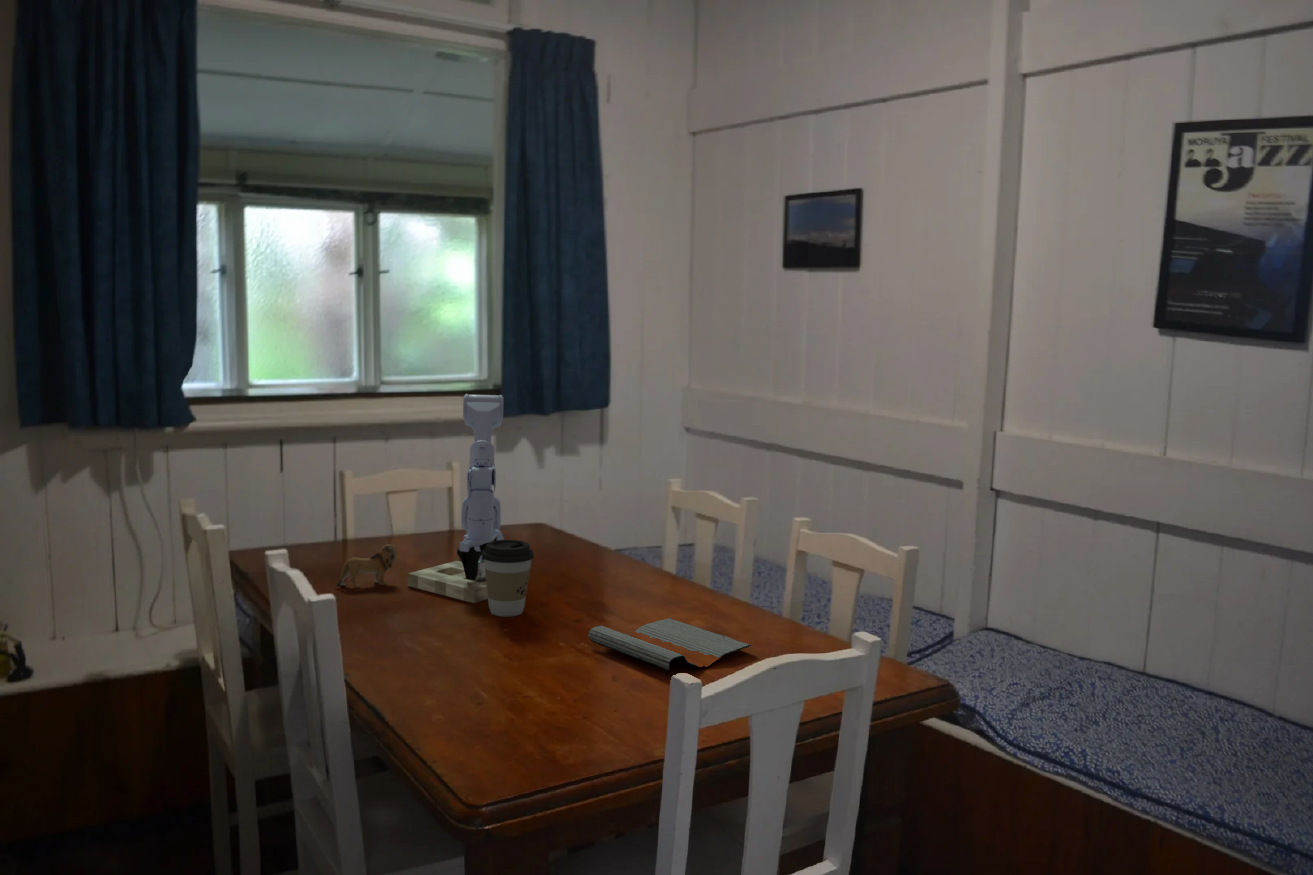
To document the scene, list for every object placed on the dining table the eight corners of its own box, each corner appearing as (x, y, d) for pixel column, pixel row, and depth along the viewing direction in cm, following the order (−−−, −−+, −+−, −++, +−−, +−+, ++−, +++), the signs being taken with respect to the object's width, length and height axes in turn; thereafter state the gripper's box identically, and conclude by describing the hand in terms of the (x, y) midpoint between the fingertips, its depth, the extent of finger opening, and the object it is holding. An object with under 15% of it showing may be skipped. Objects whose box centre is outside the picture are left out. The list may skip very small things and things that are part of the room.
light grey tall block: (475, 587, 237) (476, 558, 236) (490, 589, 235) (490, 560, 234) (466, 591, 233) (466, 562, 232) (480, 593, 231) (481, 564, 231)
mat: (753, 657, 198) (754, 634, 198) (668, 684, 182) (669, 659, 182) (671, 626, 215) (672, 605, 214) (586, 649, 199) (587, 626, 198)
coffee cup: (522, 622, 212) (524, 552, 210) (471, 616, 214) (473, 548, 213) (539, 606, 223) (541, 541, 221) (491, 601, 226) (492, 536, 224)
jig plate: (456, 572, 249) (456, 560, 248) (521, 588, 237) (521, 575, 237) (407, 585, 235) (408, 573, 235) (474, 603, 224) (474, 590, 224)
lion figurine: (391, 577, 242) (391, 541, 240) (400, 583, 237) (401, 545, 236) (331, 586, 232) (331, 548, 231) (340, 591, 228) (340, 553, 227)
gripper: (481, 510, 240) (480, 566, 242) (448, 521, 226) (447, 580, 228) (507, 514, 237) (506, 570, 239) (475, 525, 224) (474, 584, 226)
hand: (479, 575), depth 233 cm, fingers open, 7 cm apart
